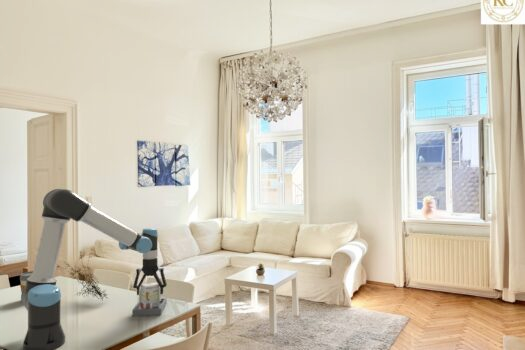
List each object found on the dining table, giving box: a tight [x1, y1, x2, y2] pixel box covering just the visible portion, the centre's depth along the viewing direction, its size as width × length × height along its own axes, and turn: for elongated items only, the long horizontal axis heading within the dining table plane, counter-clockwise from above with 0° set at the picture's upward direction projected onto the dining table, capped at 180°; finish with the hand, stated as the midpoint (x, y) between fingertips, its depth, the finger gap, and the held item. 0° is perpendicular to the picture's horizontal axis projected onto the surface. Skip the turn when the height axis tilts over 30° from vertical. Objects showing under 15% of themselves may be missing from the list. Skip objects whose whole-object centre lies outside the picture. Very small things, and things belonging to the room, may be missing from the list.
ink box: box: [140, 281, 160, 309], centre depth 202 cm, size 9×5×12 cm, turn 128°
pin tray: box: [132, 297, 168, 317], centre depth 202 cm, size 18×14×6 cm
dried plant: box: [56, 248, 108, 301], centre depth 220 cm, size 30×31×45 cm
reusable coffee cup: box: [19, 270, 33, 294], centre depth 221 cm, size 13×13×15 cm
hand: (150, 300), depth 202 cm, fingers closed on ink box, 9 cm apart
